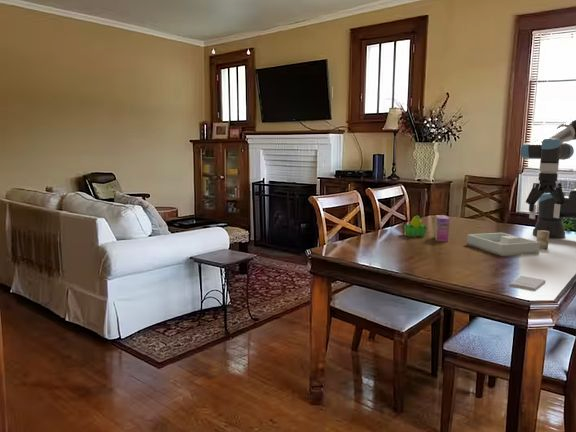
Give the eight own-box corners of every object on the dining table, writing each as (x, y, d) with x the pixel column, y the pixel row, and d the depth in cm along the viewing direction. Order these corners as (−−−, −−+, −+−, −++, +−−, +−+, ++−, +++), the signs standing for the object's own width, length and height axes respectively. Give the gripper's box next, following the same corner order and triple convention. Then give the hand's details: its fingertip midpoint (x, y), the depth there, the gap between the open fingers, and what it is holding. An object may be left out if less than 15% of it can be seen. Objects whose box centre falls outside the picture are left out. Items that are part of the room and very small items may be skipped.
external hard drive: (545, 284, 163) (534, 292, 154) (520, 279, 168) (508, 287, 159) (545, 280, 163) (535, 287, 154) (520, 275, 168) (509, 282, 159)
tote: (501, 242, 230) (502, 232, 229) (539, 253, 207) (540, 242, 206) (466, 244, 225) (467, 234, 224) (501, 255, 202) (501, 244, 201)
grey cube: (509, 247, 214) (510, 235, 213) (518, 249, 209) (519, 238, 208) (499, 248, 213) (500, 236, 212) (508, 250, 208) (509, 238, 207)
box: (448, 241, 231) (449, 218, 229) (436, 241, 232) (437, 218, 231) (445, 237, 241) (446, 215, 240) (434, 237, 242) (435, 215, 241)
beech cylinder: (542, 246, 221) (543, 230, 220) (550, 248, 216) (551, 231, 215) (533, 247, 220) (534, 230, 219) (541, 249, 215) (543, 232, 214)
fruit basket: (425, 234, 250) (426, 214, 248) (427, 237, 241) (428, 216, 239) (403, 233, 252) (404, 213, 250) (404, 237, 243) (405, 215, 241)
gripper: (563, 172, 219) (559, 216, 222) (519, 172, 213) (515, 217, 216) (577, 172, 212) (572, 218, 215) (532, 173, 206) (527, 220, 209)
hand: (544, 218), depth 216 cm, fingers open, 13 cm apart
